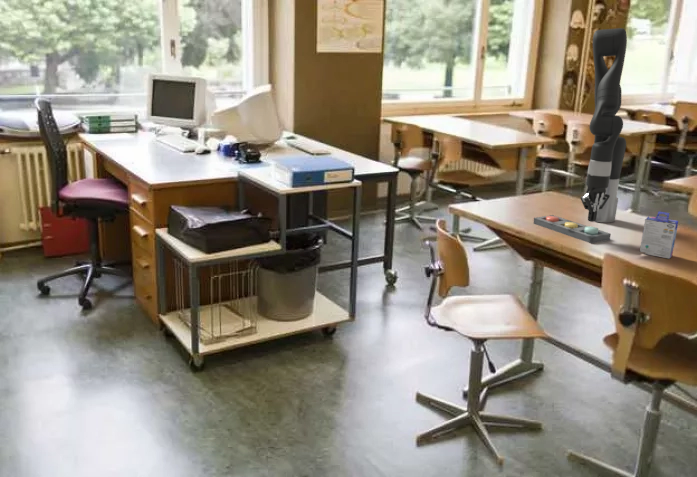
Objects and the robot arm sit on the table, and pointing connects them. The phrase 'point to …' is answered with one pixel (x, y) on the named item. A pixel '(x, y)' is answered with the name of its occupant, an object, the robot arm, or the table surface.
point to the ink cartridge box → (659, 236)
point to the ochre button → (571, 225)
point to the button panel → (572, 230)
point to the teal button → (591, 230)
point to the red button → (552, 218)
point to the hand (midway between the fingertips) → (591, 221)
